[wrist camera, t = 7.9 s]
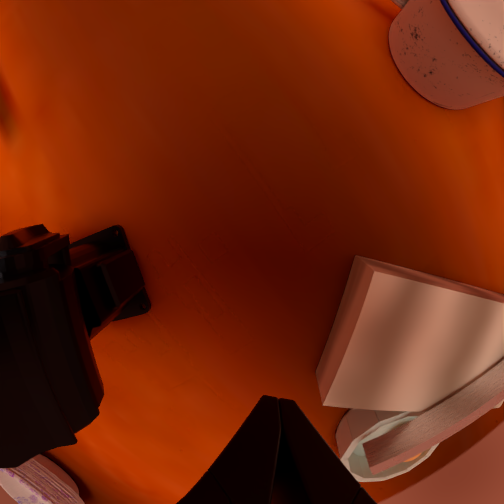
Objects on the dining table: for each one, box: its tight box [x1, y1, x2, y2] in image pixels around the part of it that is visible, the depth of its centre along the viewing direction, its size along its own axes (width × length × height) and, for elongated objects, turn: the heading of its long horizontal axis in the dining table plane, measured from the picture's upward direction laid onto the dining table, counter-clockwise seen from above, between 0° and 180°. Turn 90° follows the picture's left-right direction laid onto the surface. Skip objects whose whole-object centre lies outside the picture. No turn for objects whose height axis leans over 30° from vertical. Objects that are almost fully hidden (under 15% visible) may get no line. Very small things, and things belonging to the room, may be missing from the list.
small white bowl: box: [336, 408, 439, 482], centre depth 21 cm, size 9×9×4 cm
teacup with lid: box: [389, 0, 504, 110], centre depth 10 cm, size 12×9×12 cm
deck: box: [316, 255, 504, 412], centre depth 18 cm, size 18×9×4 cm, turn 77°
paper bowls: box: [0, 454, 85, 504], centre depth 25 cm, size 15×15×8 cm
